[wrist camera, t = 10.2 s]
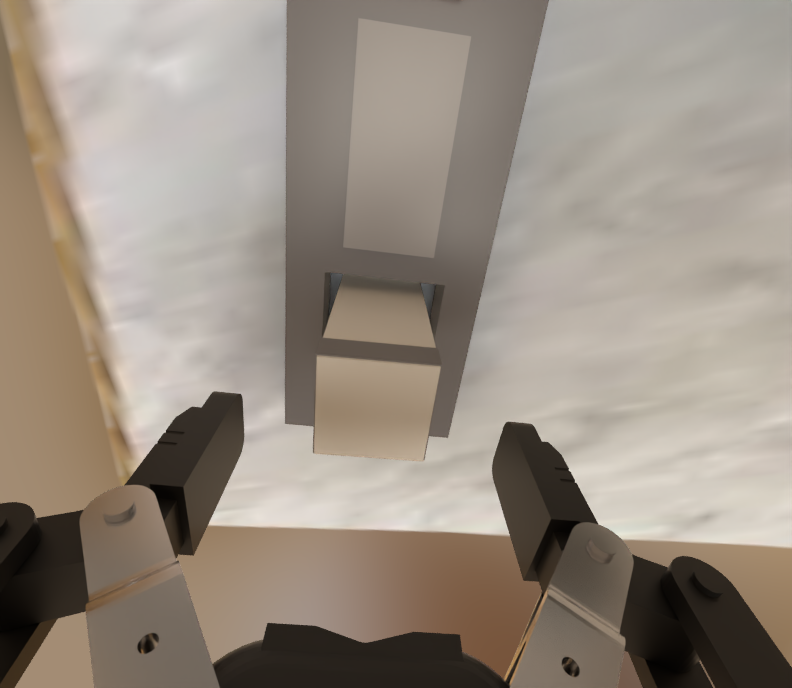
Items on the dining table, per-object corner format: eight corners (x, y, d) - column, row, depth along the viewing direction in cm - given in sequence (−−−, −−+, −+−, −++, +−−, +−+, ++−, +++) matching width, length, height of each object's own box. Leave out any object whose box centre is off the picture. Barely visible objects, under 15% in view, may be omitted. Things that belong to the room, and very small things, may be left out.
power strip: (308, -457, 11) (281, -667, 8) (612, -382, 12) (685, -550, 9) (294, 397, 24) (281, 433, 21) (442, 411, 25) (449, 447, 22)
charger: (342, 272, 21) (315, 355, 13) (421, 280, 21) (442, 366, 13) (338, 345, 23) (312, 456, 15) (410, 351, 23) (424, 464, 15)
